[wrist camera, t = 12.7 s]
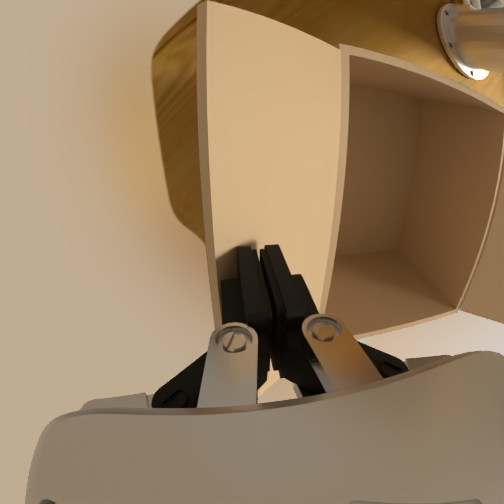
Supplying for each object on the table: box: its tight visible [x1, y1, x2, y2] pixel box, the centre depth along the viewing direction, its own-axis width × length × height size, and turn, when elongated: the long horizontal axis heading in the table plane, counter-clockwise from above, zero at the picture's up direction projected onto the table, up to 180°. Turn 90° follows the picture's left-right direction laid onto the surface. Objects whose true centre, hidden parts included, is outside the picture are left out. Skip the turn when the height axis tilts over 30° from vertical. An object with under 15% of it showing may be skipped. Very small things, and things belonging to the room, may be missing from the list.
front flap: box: [196, 0, 341, 397], centre depth 14 cm, size 21×9×1 cm
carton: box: [319, 43, 504, 339], centre depth 24 cm, size 22×18×14 cm
